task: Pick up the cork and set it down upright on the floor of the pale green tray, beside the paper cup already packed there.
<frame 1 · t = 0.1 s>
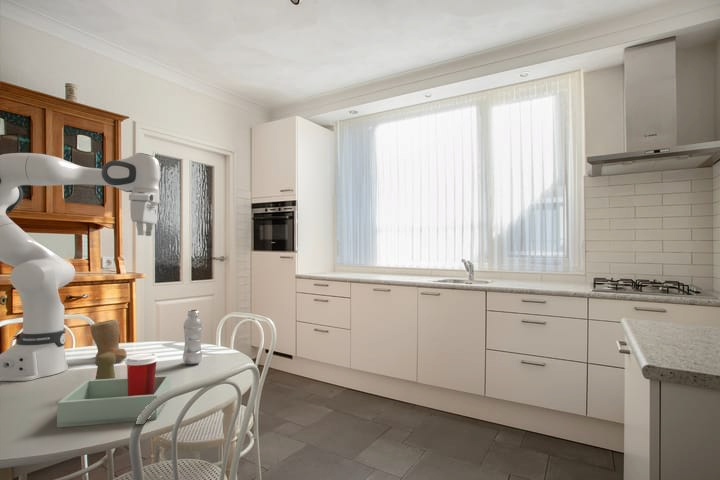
hand: (144, 235, 141), 48 cm above the table, tool pointing down, fingers open, 8 cm apart
plastic bottle: (192, 364, 144), on the table
cork: (104, 391, 117), on the table
pale green tray: (119, 409, 103), on the table
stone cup: (108, 359, 148), on the table
paper cup: (139, 408, 105), resting in pale green tray
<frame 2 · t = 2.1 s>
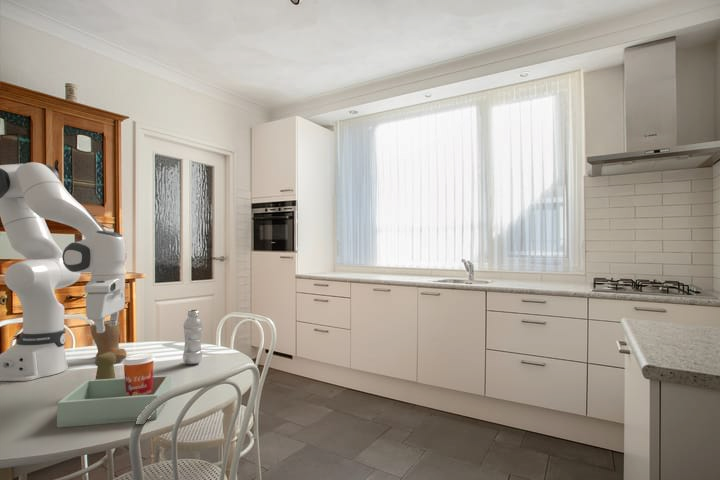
hand: (107, 329, 117), 19 cm above the table, tool pointing down, fingers open, 8 cm apart
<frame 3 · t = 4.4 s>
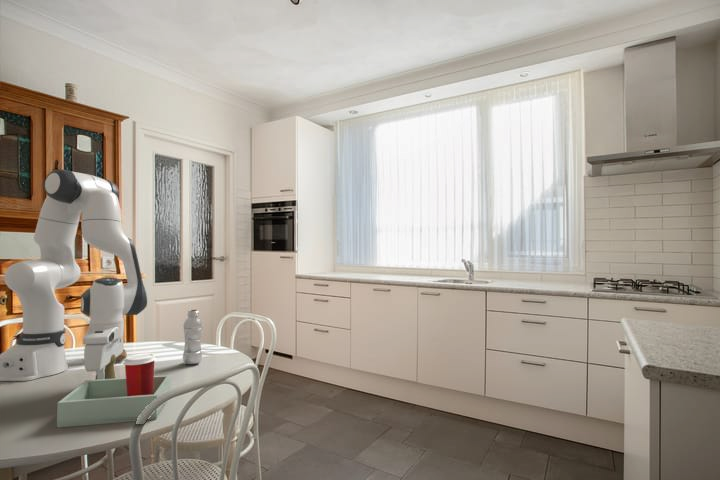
hand: (105, 377, 117), 4 cm above the table, tool pointing down, fingers closed on cork, 5 cm apart
cork: (104, 391, 117), on the table, touching gripper
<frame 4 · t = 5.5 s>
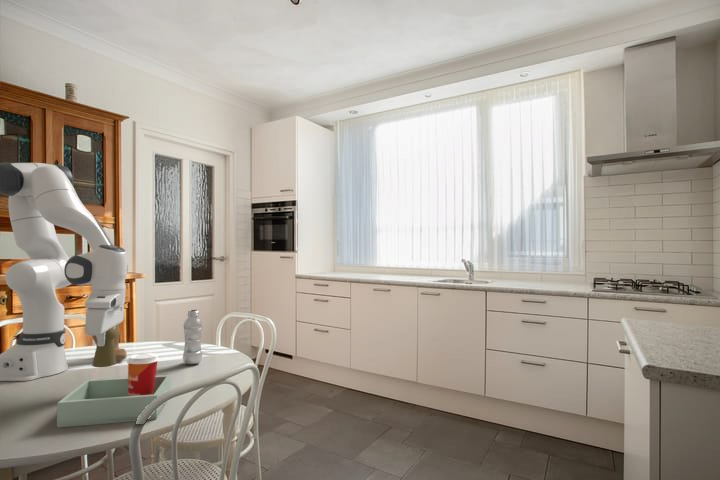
hand: (105, 343, 117), 14 cm above the table, tool pointing down, fingers closed on cork, 4 cm apart
cork: (104, 364, 117), point 8 cm above the table, touching gripper
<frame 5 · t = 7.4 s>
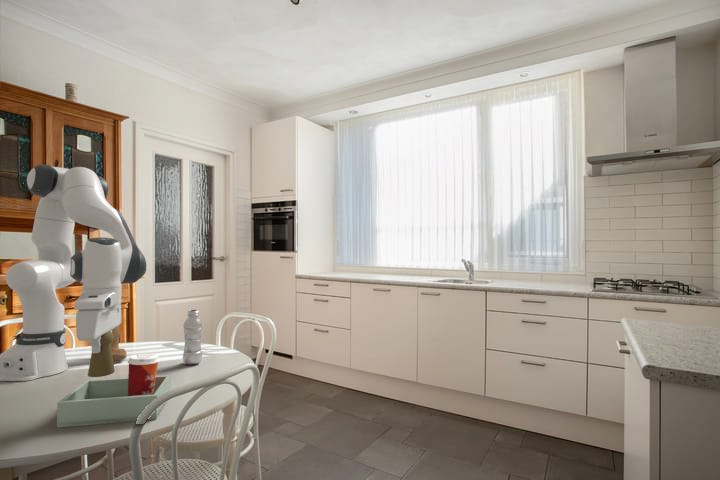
hand: (100, 349, 103), 16 cm above the table, tool pointing down, fingers closed on cork, 4 cm apart
cork: (101, 374, 103), point 10 cm above the table, touching gripper
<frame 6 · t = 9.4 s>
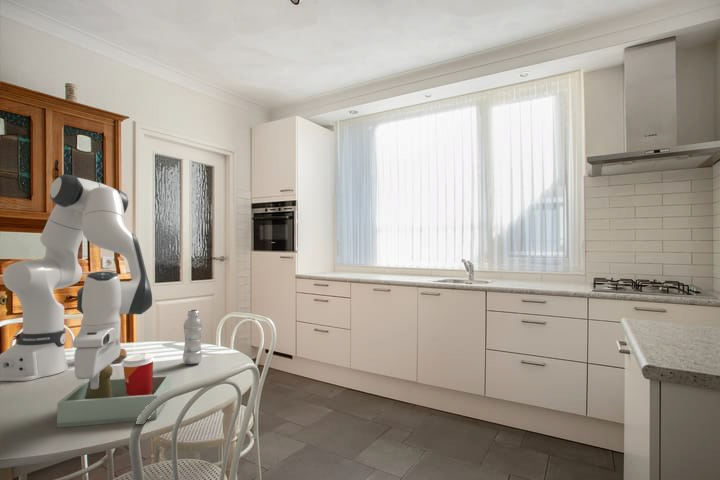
hand: (99, 384, 102), 7 cm above the table, tool pointing down, fingers closed on cork, 4 cm apart
cork: (100, 407, 103), point 1 cm above the table, touching pale green tray, gripper
when the fingers open (7 cm above the table, at t = 9.7 s): cork stays where it is, resting on pale green tray.
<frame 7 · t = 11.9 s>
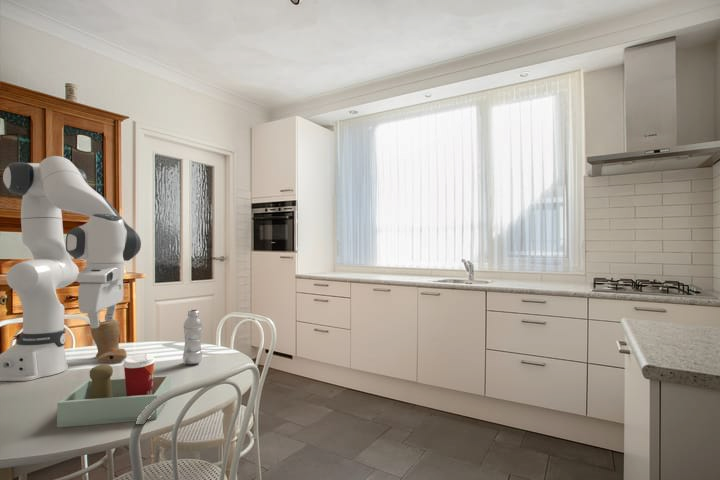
hand: (102, 324, 104), 23 cm above the table, tool pointing down, fingers open, 8 cm apart
cork: (100, 407, 103), point 1 cm above the table, touching pale green tray
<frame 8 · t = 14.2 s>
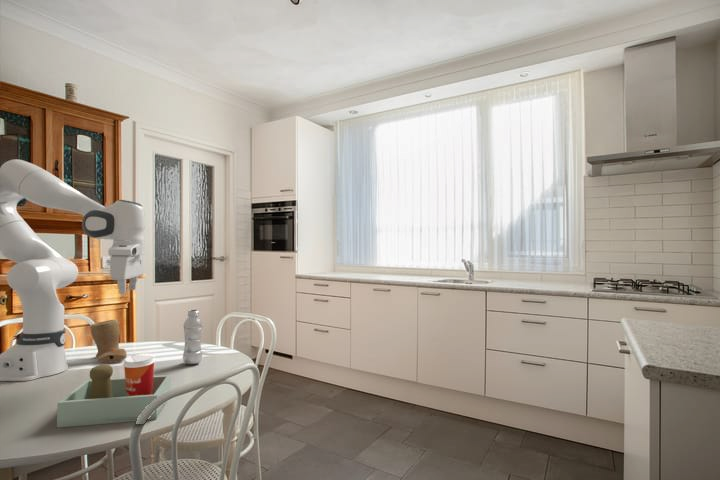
hand: (127, 291, 126), 29 cm above the table, tool pointing down, fingers open, 8 cm apart
at the end: cork inside the target area on the pale green tray (4.7 cm from its centre), point 0.8 cm above the pale green tray's base; cork tilted 0°; the gripper is holding nothing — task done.
